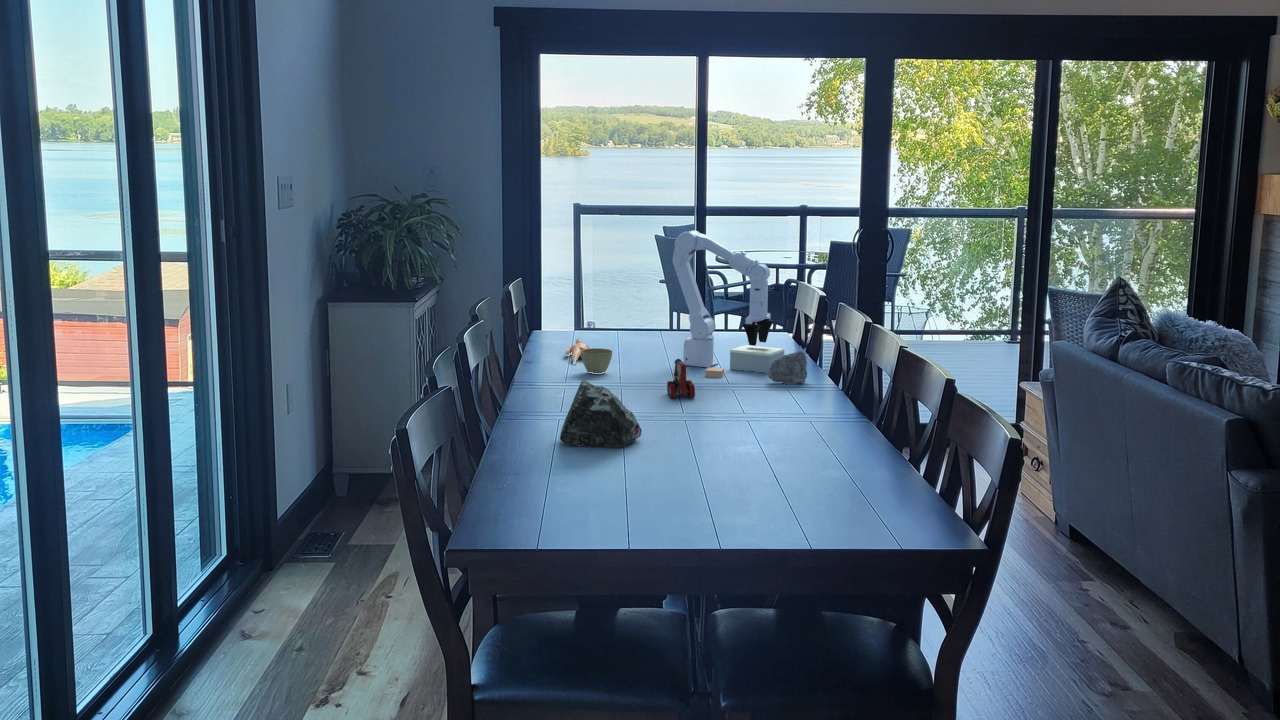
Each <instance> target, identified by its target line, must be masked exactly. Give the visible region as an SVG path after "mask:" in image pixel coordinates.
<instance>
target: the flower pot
mask: <svg viewBox="0 0 1280 720" xmlns="http://www.w3.org/2000/svg"><path fill="white" fill-rule="evenodd" d="M589 348H590V349H583V350H581V357H580V358H581V360H582V363H583V366H584V367H585V370H586V371H587V373H588V372H593V373H602V372H605V371H607V370H608V367H609V366H610V364H611V360H612V358H613V357H612V356H613V350H611V349H608V348H602V347H601V348H600V347H599V348H598V347H595V348H594V347H593V348H592V347H589ZM605 373H606V372H605Z"/></svg>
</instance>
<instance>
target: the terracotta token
mask: <svg viewBox="0 0 1280 720" xmlns="http://www.w3.org/2000/svg"><path fill="white" fill-rule="evenodd" d="M724 370H725V368H724V367H711V366H710V367H706V369H705V371H704V373H705V374H704V375H705V378H719V379H720V378H722V377H723V376H724V373H725V371H724Z"/></svg>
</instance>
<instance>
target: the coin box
mask: <svg viewBox="0 0 1280 720" xmlns="http://www.w3.org/2000/svg"><path fill="white" fill-rule="evenodd" d="M729 350H730V351H729V355H730V356H729V357H730V358H729V370H733V369H734V371H735V370H736V371H742V370H744V372H750V371H755V372H754V373H759V372H764V373H763V374H768V370H769V368H770V367H771V364H772V362H773V361H774V360H776V359H778V358H780V357H782V356H784V355H785V348H779V347H770V346H769V347H768V346H758V345H756V346H752V345H749V344H744V345H741V346H738V347H735V348H734V347H733V348H732V349H731V348H730V349H729Z"/></svg>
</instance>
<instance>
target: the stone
mask: <svg viewBox="0 0 1280 720" xmlns="http://www.w3.org/2000/svg"><path fill="white" fill-rule="evenodd" d="M642 431H643V430H642V427H641V426H640V424H639V422H638V419H637V418H636V416H635V413H633V411H630V410H629V409H627V408H626V405H624V404H623V403H622V401H621V400H620V399H619V397H618V396H616V395H614V393H612V392H611V390H609V389H608V388H607V387H604V386H600V385H594V384H592V383H590V382H589V381H588V380H586V379H582V380H581V382H580V384H579V386H578V388H577V391H576V393H575V394H574V398H573V400H572V403H571V405H570V408H569V410H568V412H567V414H566V417H565V419H564V422H563V425H562V428H561V432H560V435H559V440H560V441H561V442H563V443H565V444H568V445H572V446H575V447H578V446H577V445H580V446H591V447H593V446H594V447H604V446H605V447H604V448H607V447H612V448H614V449H615V448H620V449H621V448H623V447H625V446H626V447H627V446H630V444H631V445H633V444H634V442H635V441H636V440H637V439H639V438H640V437H641V435H642Z"/></svg>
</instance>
